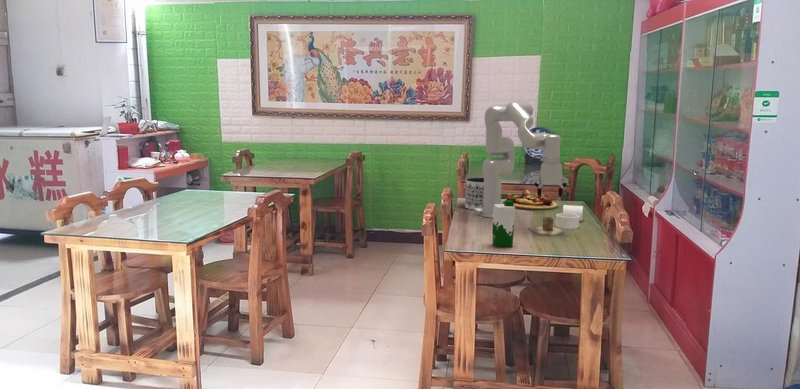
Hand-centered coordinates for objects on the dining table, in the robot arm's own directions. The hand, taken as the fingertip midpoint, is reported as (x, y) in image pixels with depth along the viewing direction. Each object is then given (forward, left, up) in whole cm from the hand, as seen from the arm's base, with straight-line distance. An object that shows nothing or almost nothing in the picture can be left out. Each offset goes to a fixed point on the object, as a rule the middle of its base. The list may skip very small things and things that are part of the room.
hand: (549, 196), depth 301 cm
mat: (0, 0, -18) cm, 18 cm away
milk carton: (-26, -25, -18) cm, 40 cm away
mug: (+21, +32, -18) cm, 42 cm away
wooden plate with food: (+7, +72, -19) cm, 75 cm away
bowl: (+13, +13, -18) cm, 26 cm away
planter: (-24, +62, -18) cm, 69 cm away
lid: (0, 0, -18) cm, 18 cm away
